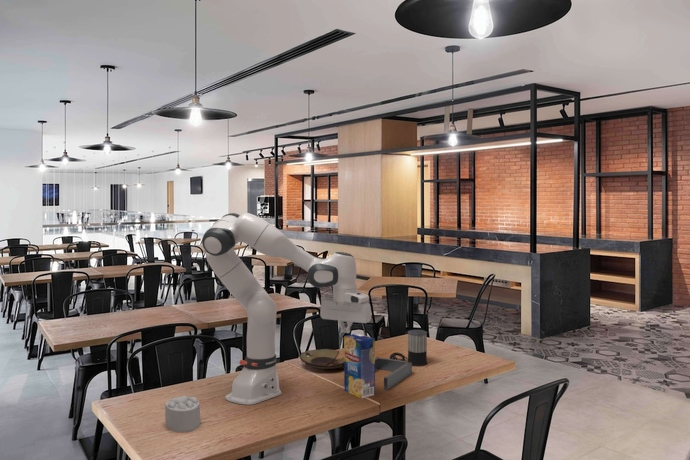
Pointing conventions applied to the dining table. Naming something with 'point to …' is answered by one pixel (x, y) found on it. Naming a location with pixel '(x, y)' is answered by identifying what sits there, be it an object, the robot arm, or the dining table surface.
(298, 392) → the dining table surface
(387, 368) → the angle bracket
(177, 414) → the lumpy-topped squat cylinder
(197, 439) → the dining table surface
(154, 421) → the dining table surface
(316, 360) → the olive brown plate
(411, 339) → the milk frother
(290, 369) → the dining table surface
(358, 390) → the beverage box
